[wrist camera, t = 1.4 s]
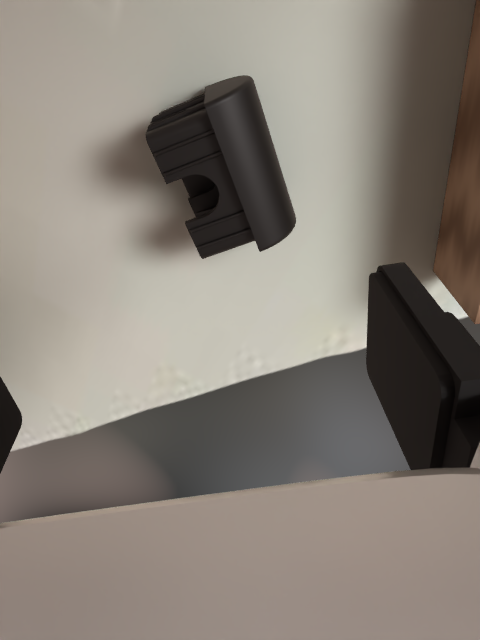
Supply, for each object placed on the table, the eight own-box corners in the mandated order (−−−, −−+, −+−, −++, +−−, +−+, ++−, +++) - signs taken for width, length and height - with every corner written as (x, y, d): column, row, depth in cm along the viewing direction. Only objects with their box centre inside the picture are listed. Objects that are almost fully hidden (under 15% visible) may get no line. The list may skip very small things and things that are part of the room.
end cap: (289, 201, 36) (303, 238, 31) (206, 231, 37) (205, 272, 32) (248, 66, 31) (255, 83, 25) (152, 106, 32) (139, 131, 26)
